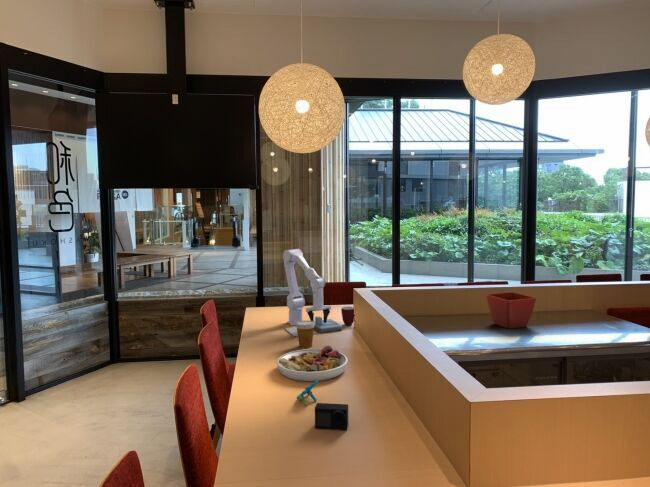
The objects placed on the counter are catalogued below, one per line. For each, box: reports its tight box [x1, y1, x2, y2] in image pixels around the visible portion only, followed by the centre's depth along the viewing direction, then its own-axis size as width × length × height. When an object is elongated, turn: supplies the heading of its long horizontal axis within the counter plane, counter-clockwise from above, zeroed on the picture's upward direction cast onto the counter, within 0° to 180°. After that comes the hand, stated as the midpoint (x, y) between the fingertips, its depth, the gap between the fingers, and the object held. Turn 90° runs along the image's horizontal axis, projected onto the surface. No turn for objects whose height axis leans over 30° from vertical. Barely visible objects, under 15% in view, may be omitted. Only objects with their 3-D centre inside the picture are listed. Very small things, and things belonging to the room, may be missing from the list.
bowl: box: [276, 345, 348, 382], centre depth 205 cm, size 30×30×8 cm
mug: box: [340, 306, 355, 327], centre depth 276 cm, size 10×8×10 cm
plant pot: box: [486, 291, 537, 329], centre depth 270 cm, size 19×19×17 cm
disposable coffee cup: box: [295, 320, 315, 349], centre depth 238 cm, size 10×10×12 cm
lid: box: [314, 316, 343, 329], centre depth 271 cm, size 16×12×5 cm
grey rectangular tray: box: [314, 325, 343, 334], centre depth 271 cm, size 16×12×2 cm
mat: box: [284, 326, 318, 338], centre depth 265 cm, size 16×13×1 cm
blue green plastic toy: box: [296, 380, 319, 407], centre depth 173 cm, size 11×6×10 cm
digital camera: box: [314, 402, 349, 432], centre depth 153 cm, size 10×5×7 cm, turn 81°
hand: (318, 323), depth 269 cm, fingers open, 7 cm apart
